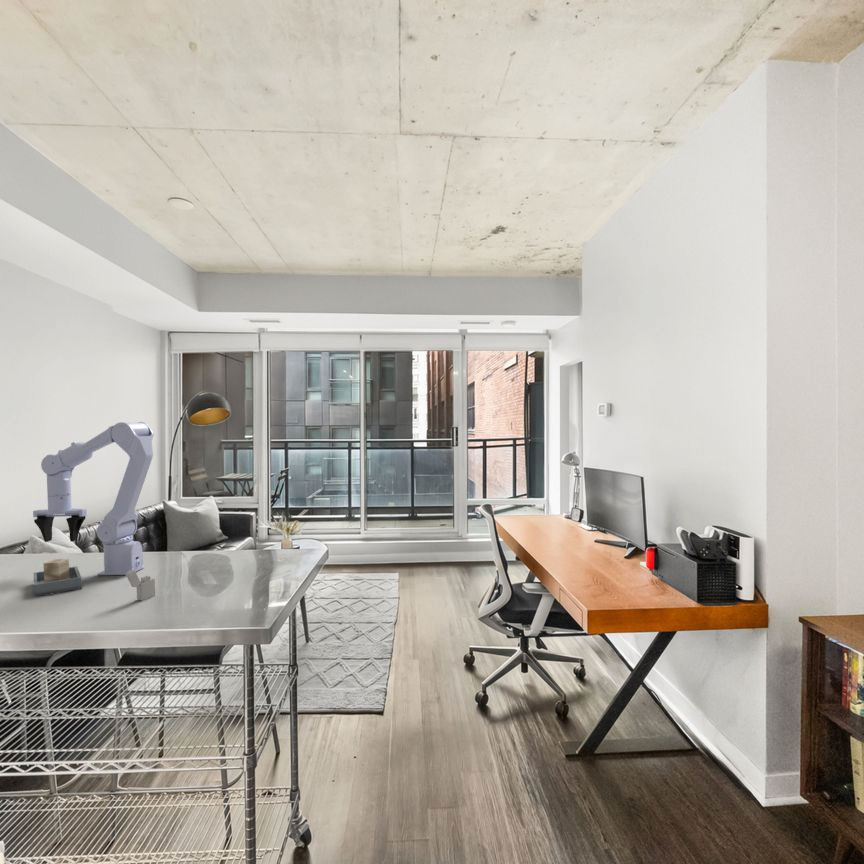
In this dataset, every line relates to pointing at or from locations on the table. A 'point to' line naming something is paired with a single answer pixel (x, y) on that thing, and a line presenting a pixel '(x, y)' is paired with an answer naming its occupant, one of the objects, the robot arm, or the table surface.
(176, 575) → the table surface
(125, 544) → the robot arm
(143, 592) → the lighter
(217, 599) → the table surface
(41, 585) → the tray
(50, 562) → the block
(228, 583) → the table surface
